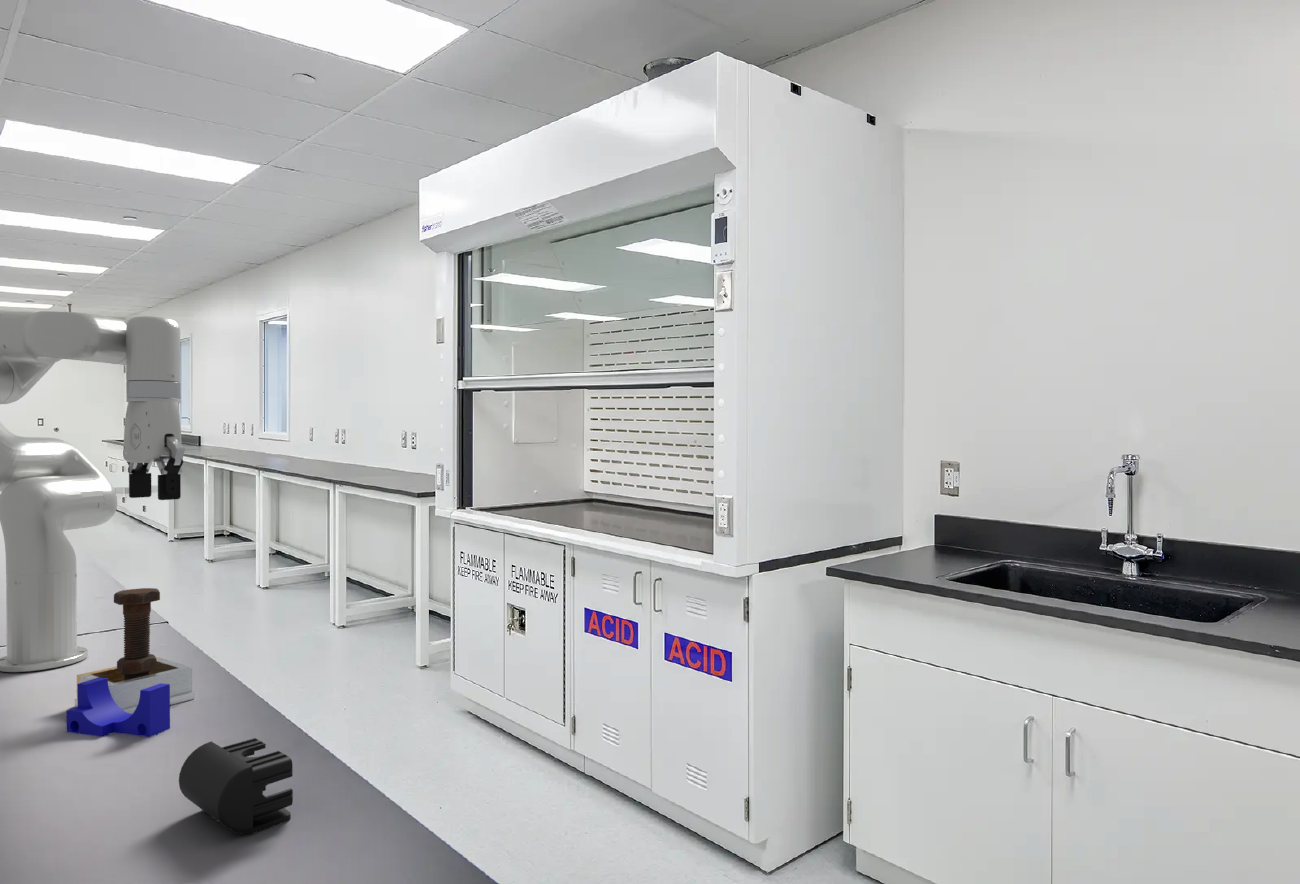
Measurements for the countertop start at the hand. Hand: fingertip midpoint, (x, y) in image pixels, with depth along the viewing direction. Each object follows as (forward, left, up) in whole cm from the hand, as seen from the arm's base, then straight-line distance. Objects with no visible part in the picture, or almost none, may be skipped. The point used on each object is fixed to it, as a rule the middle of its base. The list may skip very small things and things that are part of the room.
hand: (154, 498), depth 129 cm
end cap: (+61, -20, -29) cm, 70 cm away
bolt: (+14, -9, -28) cm, 32 cm away
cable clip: (+24, -15, -29) cm, 41 cm away
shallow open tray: (+14, -9, -28) cm, 33 cm away
